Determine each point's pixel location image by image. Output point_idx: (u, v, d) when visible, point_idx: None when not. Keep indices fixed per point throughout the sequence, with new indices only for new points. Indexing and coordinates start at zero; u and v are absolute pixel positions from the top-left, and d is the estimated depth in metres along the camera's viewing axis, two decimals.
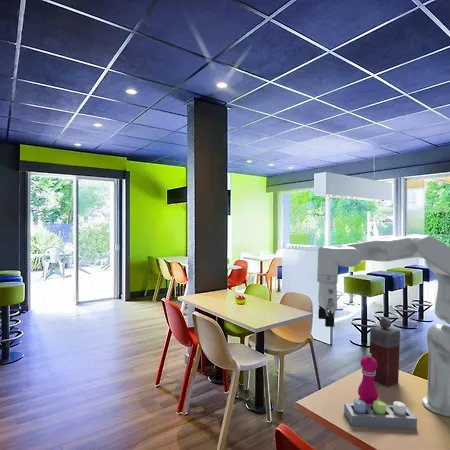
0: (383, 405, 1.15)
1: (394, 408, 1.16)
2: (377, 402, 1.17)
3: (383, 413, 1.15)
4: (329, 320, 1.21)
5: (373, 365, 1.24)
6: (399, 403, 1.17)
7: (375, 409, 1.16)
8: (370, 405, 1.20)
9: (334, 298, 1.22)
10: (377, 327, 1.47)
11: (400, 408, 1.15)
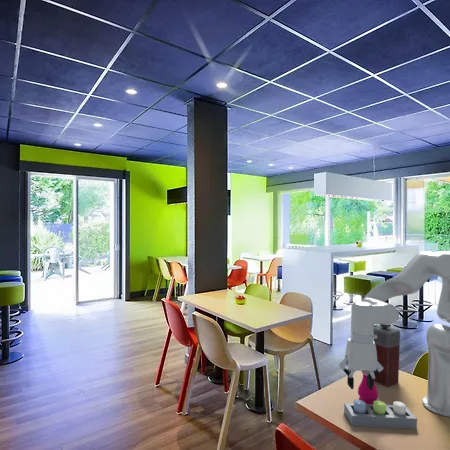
0: (383, 405, 1.15)
1: (394, 408, 1.16)
2: (377, 402, 1.17)
3: (383, 413, 1.15)
4: None
5: None
6: (399, 403, 1.17)
7: (375, 409, 1.16)
8: (370, 405, 1.20)
9: None
10: (377, 327, 1.47)
11: (400, 408, 1.15)
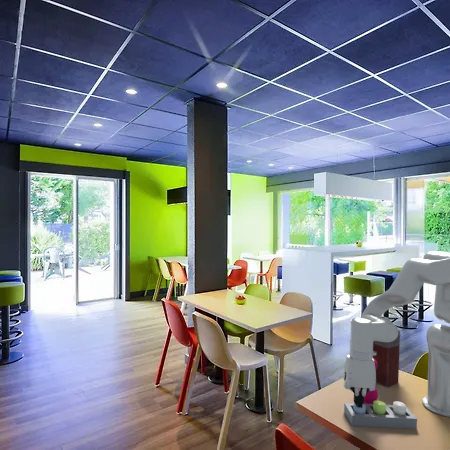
0: (383, 405, 1.15)
1: (394, 408, 1.16)
2: (377, 402, 1.17)
3: (383, 413, 1.15)
4: None
5: None
6: (399, 403, 1.17)
7: (375, 409, 1.16)
8: (370, 405, 1.20)
9: None
10: None
11: (400, 408, 1.15)
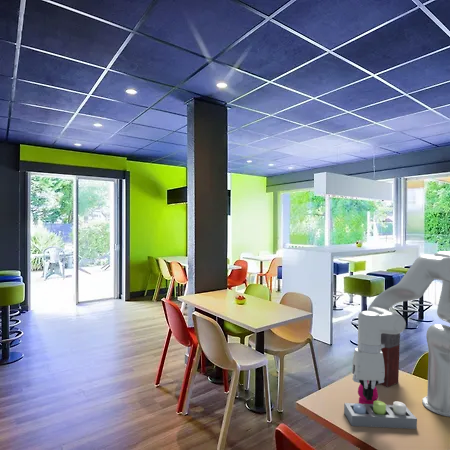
0: (383, 405, 1.15)
1: (394, 408, 1.16)
2: (377, 402, 1.17)
3: (383, 413, 1.15)
4: None
5: None
6: (399, 403, 1.17)
7: (375, 409, 1.16)
8: (370, 405, 1.20)
9: None
10: None
11: (400, 408, 1.15)
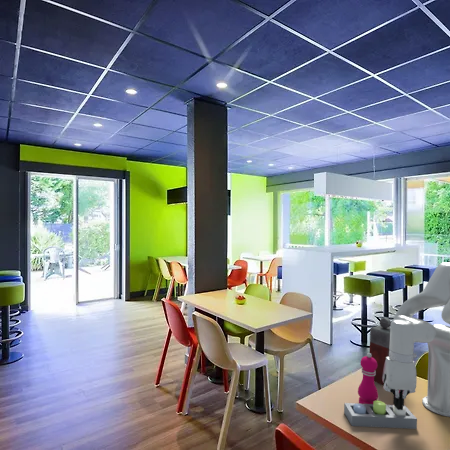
0: (383, 405, 1.15)
1: (394, 411, 1.16)
2: (377, 402, 1.17)
3: (383, 413, 1.15)
4: None
5: (373, 365, 1.24)
6: None
7: (375, 409, 1.16)
8: (370, 405, 1.20)
9: None
10: (377, 327, 1.47)
11: (400, 411, 1.15)
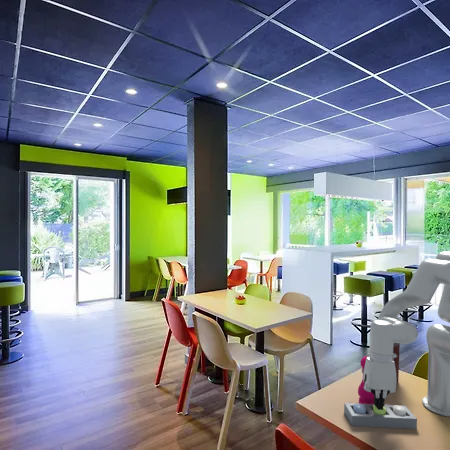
0: (383, 409, 1.15)
1: (394, 412, 1.16)
2: None
3: None
4: None
5: None
6: (399, 407, 1.17)
7: (375, 413, 1.16)
8: (370, 405, 1.20)
9: None
10: None
11: (400, 412, 1.15)
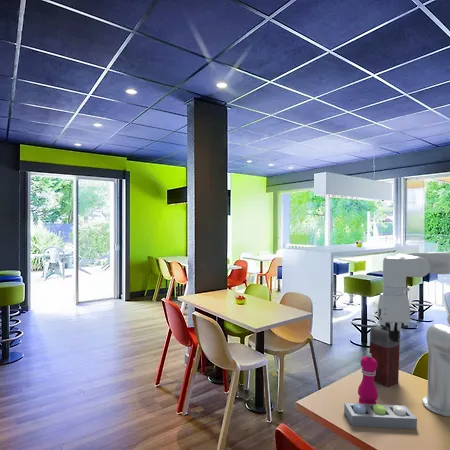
0: (383, 409, 1.15)
1: (394, 412, 1.16)
2: (377, 406, 1.17)
3: None
4: None
5: (373, 365, 1.24)
6: (399, 407, 1.17)
7: (375, 413, 1.16)
8: (370, 405, 1.20)
9: None
10: (377, 327, 1.47)
11: (400, 412, 1.15)
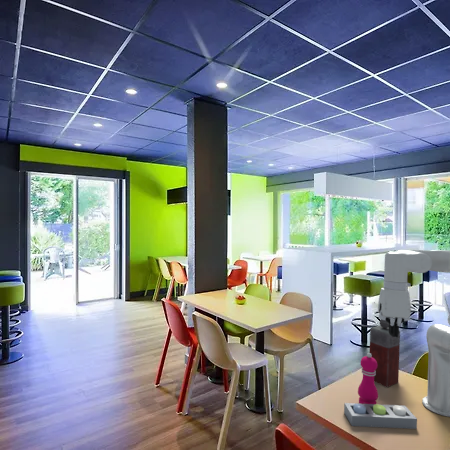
0: (383, 409, 1.15)
1: (394, 412, 1.16)
2: (377, 406, 1.17)
3: None
4: None
5: (373, 365, 1.24)
6: (399, 407, 1.17)
7: (375, 413, 1.16)
8: (370, 405, 1.20)
9: None
10: (377, 327, 1.47)
11: (400, 412, 1.15)
